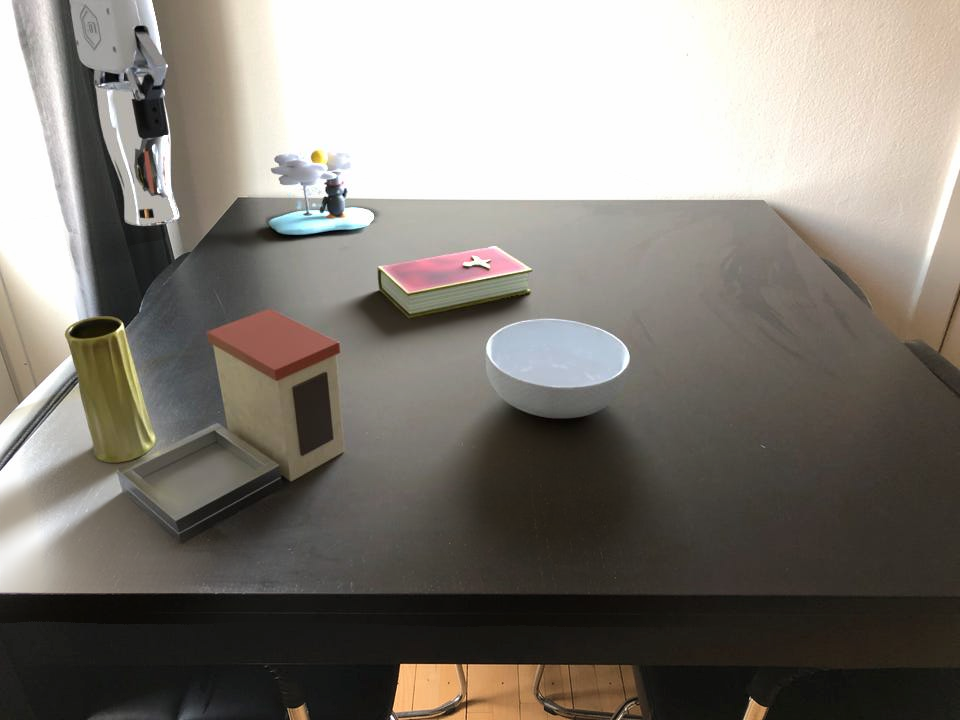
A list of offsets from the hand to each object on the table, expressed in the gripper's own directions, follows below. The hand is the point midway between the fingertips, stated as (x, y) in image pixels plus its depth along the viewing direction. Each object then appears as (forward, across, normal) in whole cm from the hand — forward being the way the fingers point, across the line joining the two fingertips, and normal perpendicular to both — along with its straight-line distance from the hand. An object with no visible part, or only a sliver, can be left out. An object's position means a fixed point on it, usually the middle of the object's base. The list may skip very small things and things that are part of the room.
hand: (136, 130), depth 83 cm
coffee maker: (+29, +26, -8) cm, 40 cm away
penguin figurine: (+28, -27, +46) cm, 60 cm away
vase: (+29, +14, -14) cm, 35 cm away
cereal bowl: (+29, +43, +24) cm, 57 cm away
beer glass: (+10, 0, 0) cm, 10 cm away
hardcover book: (+28, +12, +40) cm, 51 cm away
